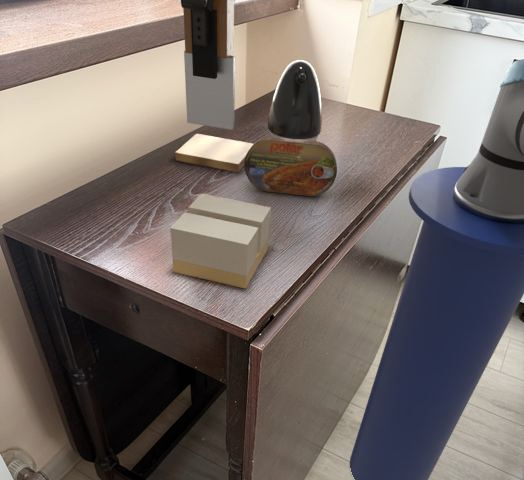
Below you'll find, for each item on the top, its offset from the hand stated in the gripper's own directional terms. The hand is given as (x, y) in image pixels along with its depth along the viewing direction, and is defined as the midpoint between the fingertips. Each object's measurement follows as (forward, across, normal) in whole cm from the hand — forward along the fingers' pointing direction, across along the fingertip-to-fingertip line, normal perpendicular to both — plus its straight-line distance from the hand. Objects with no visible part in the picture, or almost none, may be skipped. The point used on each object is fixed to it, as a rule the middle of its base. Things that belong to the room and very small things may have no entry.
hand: (209, 72), depth 59 cm
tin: (+22, -18, +7) cm, 29 cm away
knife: (+6, 0, 0) cm, 6 cm away
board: (+21, -26, -9) cm, 35 cm away
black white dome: (+22, -36, +3) cm, 42 cm away
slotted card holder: (+21, +6, +4) cm, 22 cm away
